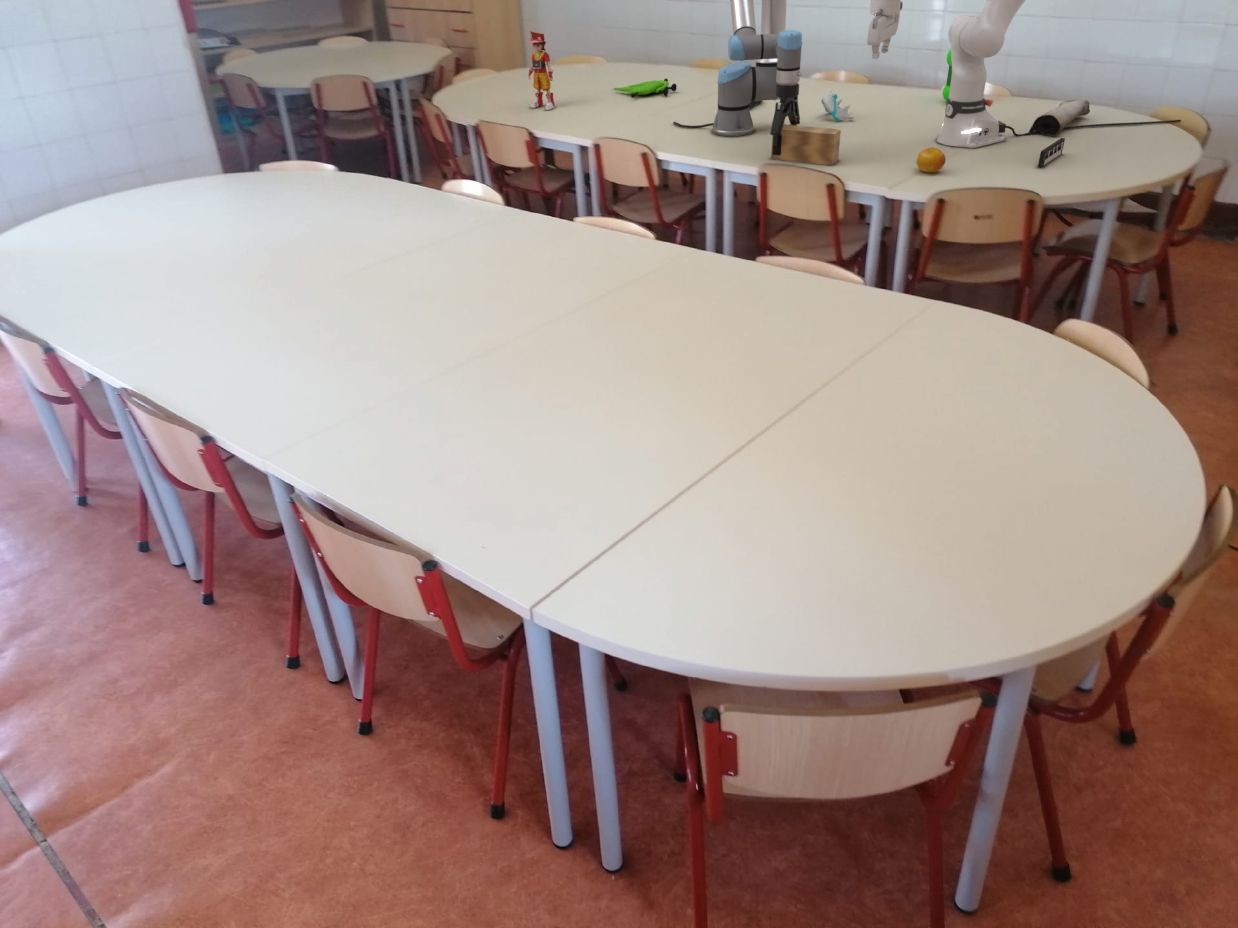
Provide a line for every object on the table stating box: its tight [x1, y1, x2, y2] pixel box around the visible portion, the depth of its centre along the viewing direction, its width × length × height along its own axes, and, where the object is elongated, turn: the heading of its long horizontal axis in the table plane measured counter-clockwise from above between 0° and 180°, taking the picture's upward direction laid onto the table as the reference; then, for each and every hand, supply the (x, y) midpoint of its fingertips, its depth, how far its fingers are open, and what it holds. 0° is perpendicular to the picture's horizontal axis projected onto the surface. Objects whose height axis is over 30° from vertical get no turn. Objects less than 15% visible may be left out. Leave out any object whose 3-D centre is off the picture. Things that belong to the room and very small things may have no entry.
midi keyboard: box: [1037, 137, 1066, 168], centre depth 287 cm, size 18×1×5 cm, turn 138°
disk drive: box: [749, 101, 763, 110], centre depth 367 cm, size 10×3×15 cm
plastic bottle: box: [942, 48, 952, 102], centre depth 348 cm, size 10×10×25 cm
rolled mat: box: [1028, 99, 1091, 137], centre depth 319 cm, size 30×9×10 cm
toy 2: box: [612, 78, 677, 99], centre depth 396 cm, size 28×5×30 cm
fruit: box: [916, 147, 946, 174], centre depth 284 cm, size 8×8×8 cm
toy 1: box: [527, 31, 556, 111], centre depth 374 cm, size 12×9×30 cm
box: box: [770, 123, 842, 166], centre depth 300 cm, size 22×6×10 cm, turn 59°
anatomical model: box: [820, 90, 855, 122], centre depth 343 cm, size 15×10×10 cm
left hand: (784, 149), depth 305 cm, fingers open, 13 cm apart
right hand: (880, 55), depth 286 cm, fingers open, 8 cm apart
